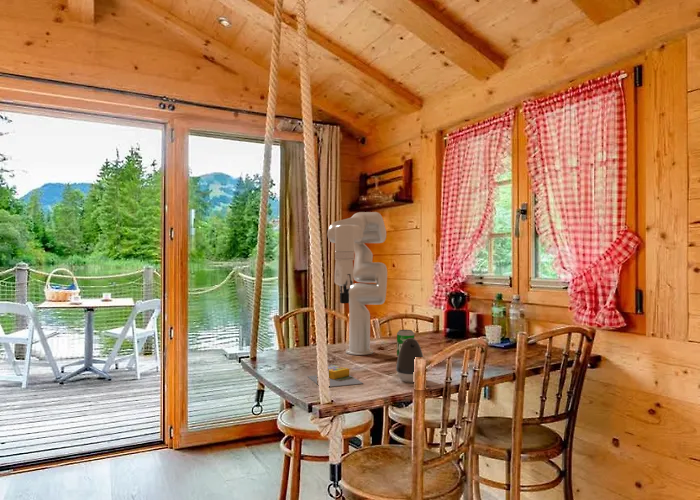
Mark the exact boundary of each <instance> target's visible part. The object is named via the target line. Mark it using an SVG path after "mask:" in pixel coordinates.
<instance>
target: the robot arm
mask: <svg viewBox="0 0 700 500" xmlns="http://www.w3.org/2000/svg"><path fill="white" fill-rule="evenodd" d="M327 239H328V241H329V242H330V243H332V244H334V260H335V263H334V275H333V276H334V284H335V285H337V286H338V287H339V303H340V304H348V309H349V313H348V314H349V317H348V318H349V322H348V326H349V328H348V330H349V331H348V333H349V334H348V335H349V336H348V339H349V340H348V348H346V349H345V353H346V354H348V355H353V356H354V355H355V356H363V355H364V356H366V355H372V354H373V353H374V349H373V348H371V313H370V311H369V309H368V308H367V305H373V306H374V305H377V306H378V305H383V304H384V303H385V302H386V298H387V297H386V296H387V286H388V269H387V265H386V264H385V263H383V262H379V261H377V262H375V261H374V262H373V257H374V254H373V252H372V250H371V249H370V248H369V247H368V246H367V245H366V244H382V243H384V242H385V241H386V239H387V229H386V226H385V222H384V217H383V215H381V213H380V212H377V211H372V212H371V211H366V212H365V211H359V212H356V213H354V214H353V215H352V216H351V217H348V218H344V219H339V220H337V221H333V222H332V223H331V224H330V225H329V227H328V229H327ZM354 281H355V282H356V283H354Z"/></svg>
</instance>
